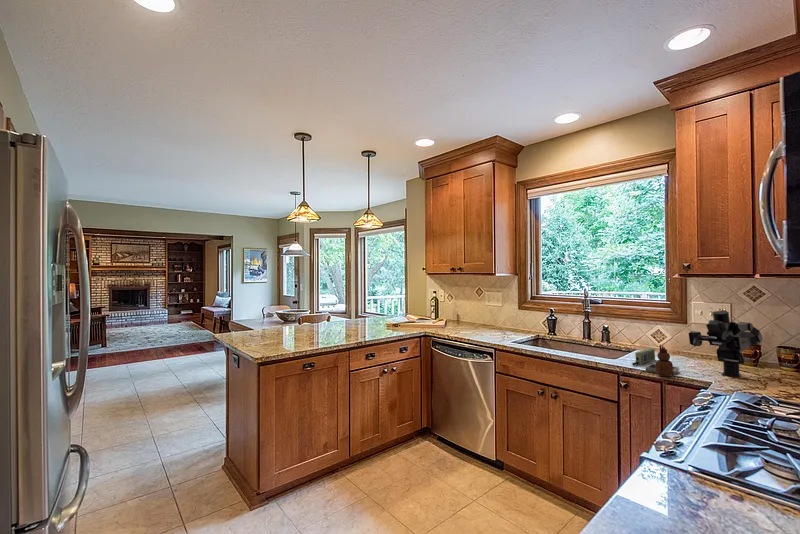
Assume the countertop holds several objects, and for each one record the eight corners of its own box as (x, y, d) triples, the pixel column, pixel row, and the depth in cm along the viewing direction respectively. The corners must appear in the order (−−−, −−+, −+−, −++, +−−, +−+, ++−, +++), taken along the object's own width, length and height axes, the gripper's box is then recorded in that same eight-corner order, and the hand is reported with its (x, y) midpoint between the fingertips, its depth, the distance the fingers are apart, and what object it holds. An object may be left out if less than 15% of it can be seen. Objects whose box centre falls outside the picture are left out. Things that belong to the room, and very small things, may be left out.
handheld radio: (656, 360, 215) (637, 367, 201) (649, 359, 218) (630, 366, 203) (655, 348, 216) (636, 354, 201) (649, 348, 219) (629, 353, 204)
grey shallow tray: (651, 367, 198) (651, 363, 198) (678, 371, 190) (678, 367, 190) (645, 371, 191) (645, 367, 191) (673, 375, 182) (673, 371, 182)
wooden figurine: (659, 377, 179) (658, 345, 179) (653, 374, 184) (652, 343, 185) (675, 377, 178) (674, 345, 178) (669, 374, 183) (667, 343, 184)
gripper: (694, 316, 184) (679, 326, 176) (744, 320, 168) (730, 331, 160) (697, 339, 185) (682, 350, 177) (748, 344, 169) (734, 356, 161)
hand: (706, 346), depth 168 cm, fingers open, 9 cm apart
